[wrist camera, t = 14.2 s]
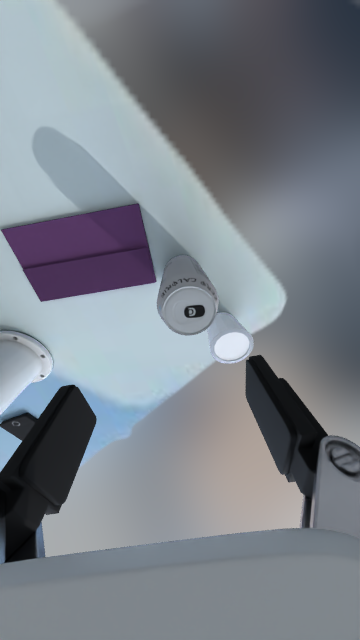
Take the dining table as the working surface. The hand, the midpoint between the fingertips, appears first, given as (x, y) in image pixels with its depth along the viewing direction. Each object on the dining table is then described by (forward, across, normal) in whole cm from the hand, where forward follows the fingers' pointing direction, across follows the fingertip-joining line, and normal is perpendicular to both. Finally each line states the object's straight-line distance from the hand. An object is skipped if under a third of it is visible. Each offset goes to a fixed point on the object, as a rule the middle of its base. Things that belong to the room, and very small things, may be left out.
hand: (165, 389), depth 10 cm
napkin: (+22, +12, -6) cm, 26 cm away
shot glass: (+22, -8, +10) cm, 26 cm away
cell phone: (+23, +43, +36) cm, 60 cm away
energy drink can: (+22, -2, -1) cm, 22 cm away
